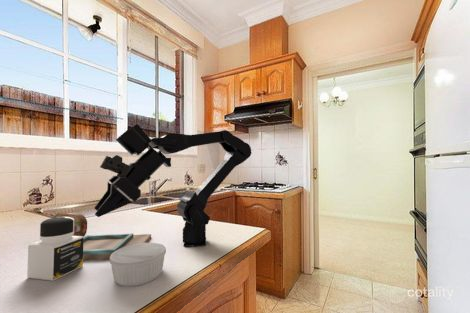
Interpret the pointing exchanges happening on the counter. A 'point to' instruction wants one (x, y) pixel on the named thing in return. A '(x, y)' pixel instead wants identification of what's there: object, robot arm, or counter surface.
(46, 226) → the medicine bottle
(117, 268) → the ramekin
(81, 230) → the tin
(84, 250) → the socket board
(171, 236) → the counter surface
